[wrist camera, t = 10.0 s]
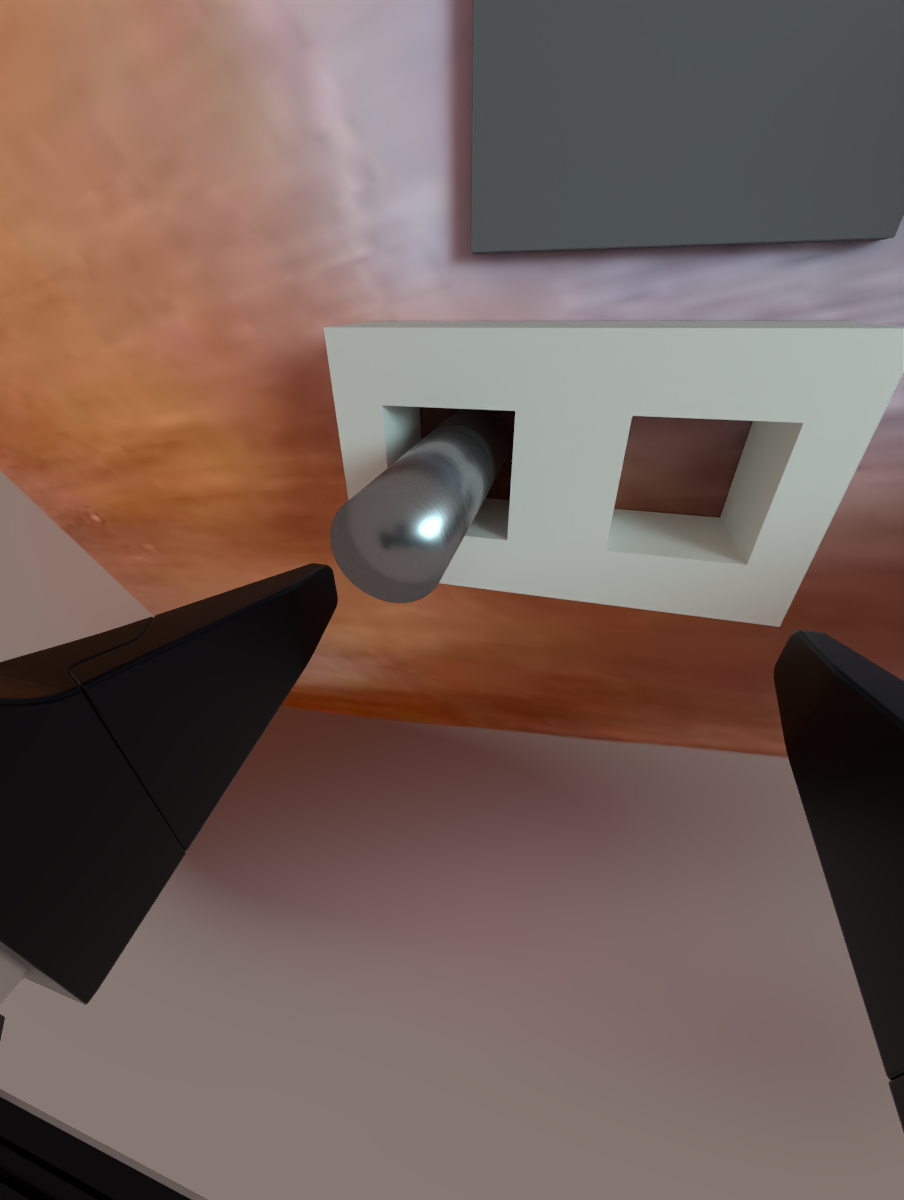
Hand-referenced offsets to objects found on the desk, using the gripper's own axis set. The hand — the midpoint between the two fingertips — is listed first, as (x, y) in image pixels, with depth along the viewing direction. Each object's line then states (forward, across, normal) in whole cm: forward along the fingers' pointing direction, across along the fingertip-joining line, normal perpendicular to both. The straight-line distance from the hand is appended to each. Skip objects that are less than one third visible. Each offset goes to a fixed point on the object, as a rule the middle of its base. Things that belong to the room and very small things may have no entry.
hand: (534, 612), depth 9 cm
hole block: (+12, 0, 0) cm, 12 cm away
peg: (+12, +4, 0) cm, 12 cm away
